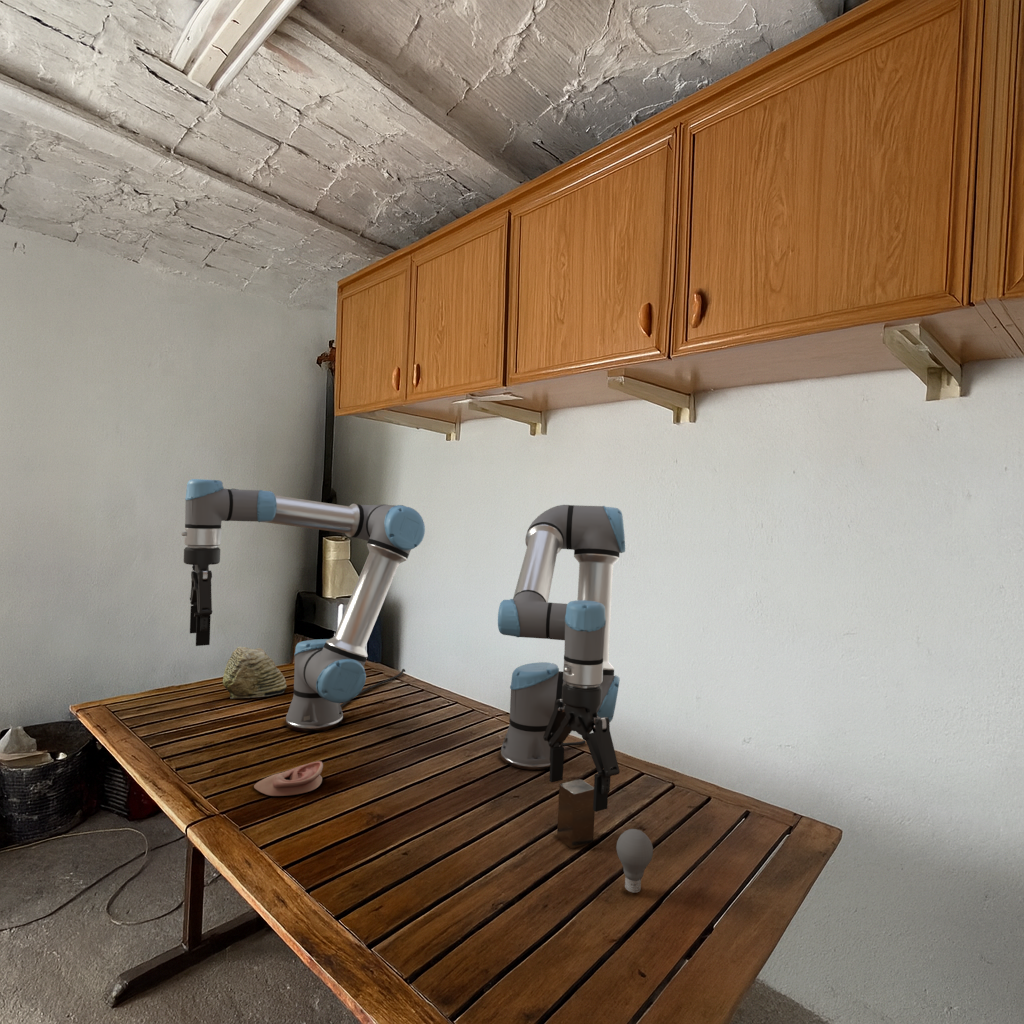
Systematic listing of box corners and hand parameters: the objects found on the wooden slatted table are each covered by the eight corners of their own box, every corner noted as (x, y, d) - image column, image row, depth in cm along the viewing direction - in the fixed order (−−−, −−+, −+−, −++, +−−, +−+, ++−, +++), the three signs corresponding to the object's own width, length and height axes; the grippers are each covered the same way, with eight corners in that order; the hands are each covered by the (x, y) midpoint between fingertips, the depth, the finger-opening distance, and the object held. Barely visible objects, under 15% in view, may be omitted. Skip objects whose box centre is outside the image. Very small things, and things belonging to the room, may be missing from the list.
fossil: (218, 695, 195) (220, 647, 195) (278, 685, 208) (279, 640, 207) (228, 703, 189) (230, 653, 188) (289, 692, 201) (290, 645, 201)
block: (556, 837, 122) (559, 784, 122) (578, 830, 125) (580, 778, 124) (571, 849, 118) (574, 794, 118) (593, 842, 121) (595, 788, 120)
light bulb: (610, 879, 108) (613, 822, 108) (644, 879, 109) (647, 822, 109) (619, 902, 102) (622, 840, 102) (655, 901, 103) (658, 840, 103)
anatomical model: (246, 773, 134) (276, 753, 145) (245, 792, 134) (276, 770, 145) (303, 782, 131) (330, 760, 142) (302, 801, 131) (329, 777, 142)
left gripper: (179, 542, 154) (176, 629, 154) (189, 551, 133) (185, 652, 133) (213, 542, 158) (210, 627, 158) (228, 551, 136) (224, 649, 137)
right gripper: (529, 669, 129) (524, 773, 129) (610, 703, 108) (604, 828, 108) (559, 666, 133) (554, 766, 133) (642, 698, 112) (637, 818, 112)
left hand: (199, 638), depth 145 cm, fingers open, 13 cm apart
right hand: (577, 794), depth 121 cm, fingers open, 13 cm apart
